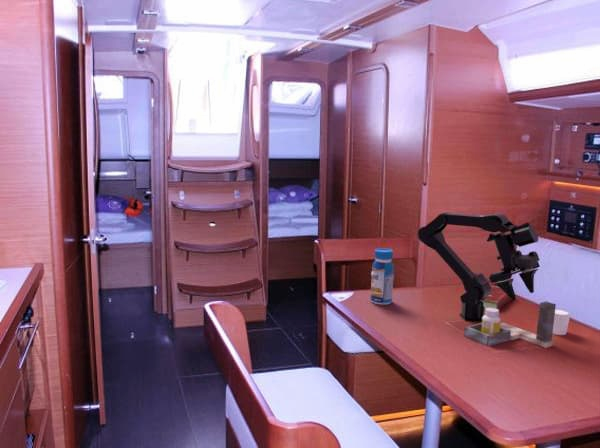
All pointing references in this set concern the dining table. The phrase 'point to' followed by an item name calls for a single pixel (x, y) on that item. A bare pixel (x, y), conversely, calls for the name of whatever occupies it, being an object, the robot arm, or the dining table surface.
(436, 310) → the dining table surface
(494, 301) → the hardcover book
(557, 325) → the shot glass
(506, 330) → the tray with upright post
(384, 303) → the beverage bottle
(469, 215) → the robot arm
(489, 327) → the supplement bottle
